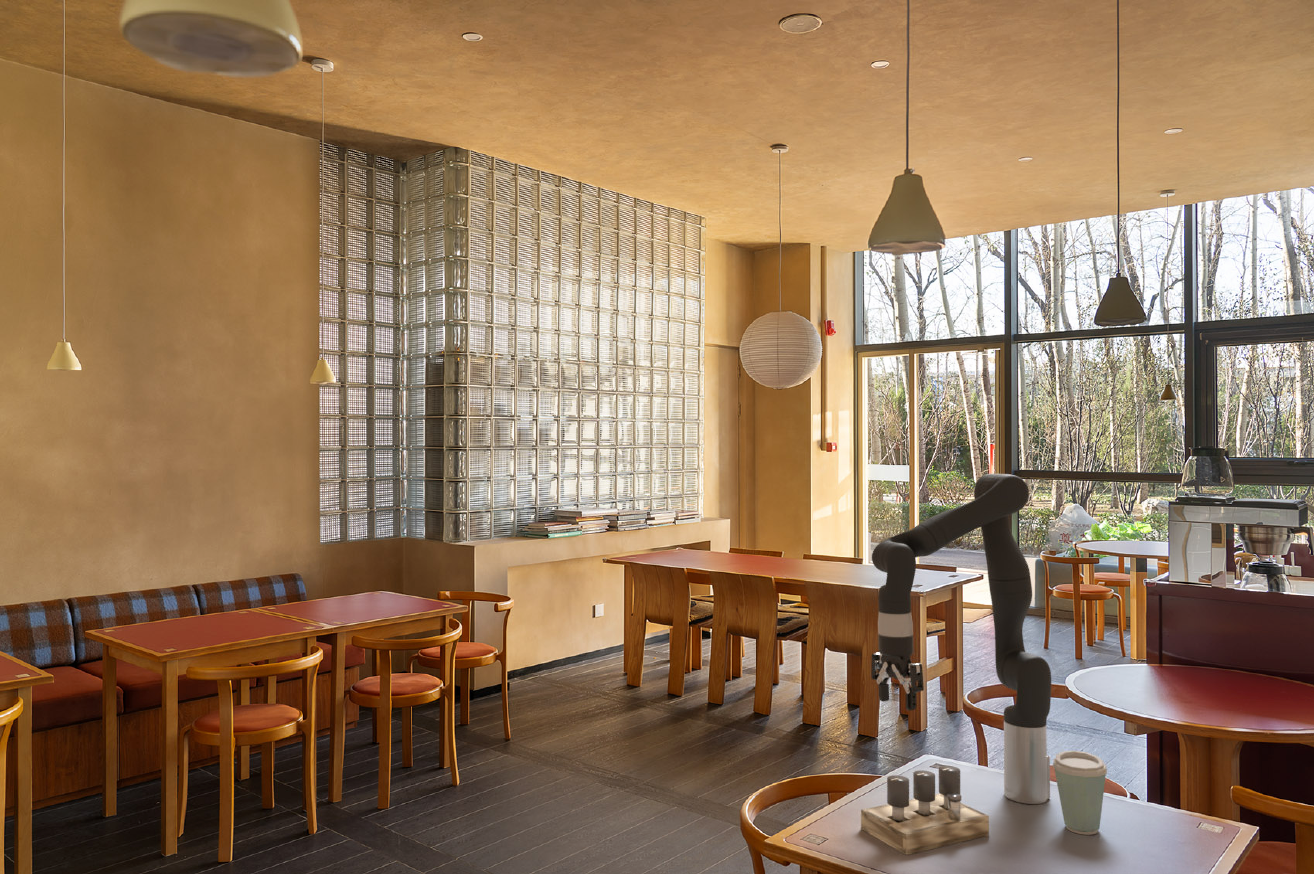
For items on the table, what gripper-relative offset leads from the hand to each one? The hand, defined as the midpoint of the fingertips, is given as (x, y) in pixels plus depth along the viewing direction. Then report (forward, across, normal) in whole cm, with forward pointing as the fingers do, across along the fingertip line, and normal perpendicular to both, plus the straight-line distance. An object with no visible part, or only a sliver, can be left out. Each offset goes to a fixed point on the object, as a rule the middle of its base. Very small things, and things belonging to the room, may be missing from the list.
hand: (897, 705), depth 200 cm
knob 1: (+19, -11, +10) cm, 24 cm away
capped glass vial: (+20, -16, 0) cm, 25 cm away
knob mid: (+19, -11, +3) cm, 22 cm away
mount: (+24, -11, +3) cm, 26 cm away
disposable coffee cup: (+24, -24, -28) cm, 44 cm away
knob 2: (+20, -11, -4) cm, 23 cm away
